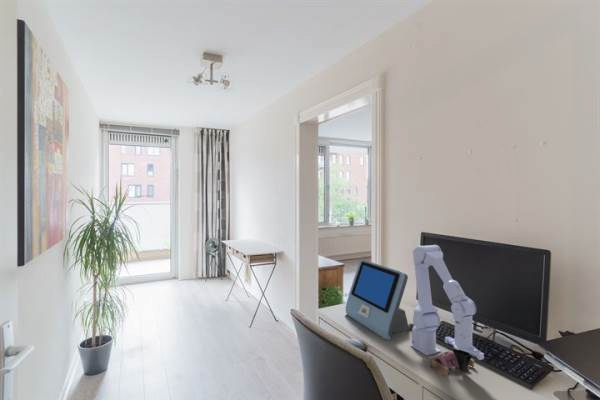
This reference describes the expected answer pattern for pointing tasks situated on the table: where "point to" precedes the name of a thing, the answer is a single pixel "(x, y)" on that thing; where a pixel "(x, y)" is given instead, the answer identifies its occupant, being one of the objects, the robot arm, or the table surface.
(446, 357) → the video game controller
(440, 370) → the docking cradle
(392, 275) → the touchscreen device
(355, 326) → the table surface
